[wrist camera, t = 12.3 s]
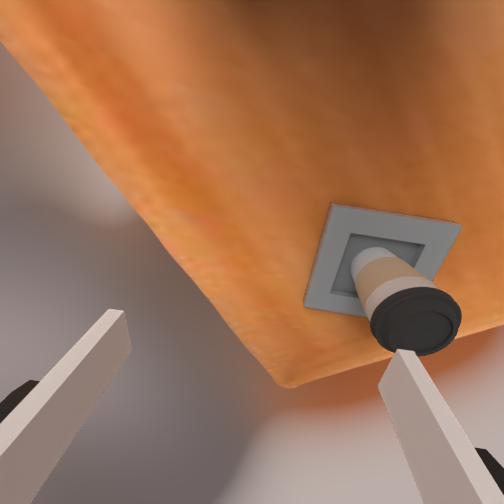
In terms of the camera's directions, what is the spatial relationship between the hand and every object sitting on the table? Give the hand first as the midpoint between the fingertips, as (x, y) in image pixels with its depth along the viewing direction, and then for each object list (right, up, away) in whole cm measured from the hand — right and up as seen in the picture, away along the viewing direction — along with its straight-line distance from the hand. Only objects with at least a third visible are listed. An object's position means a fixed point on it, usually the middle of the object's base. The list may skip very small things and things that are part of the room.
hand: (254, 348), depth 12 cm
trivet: (+19, +3, +27) cm, 33 cm away
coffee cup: (+19, +3, +27) cm, 33 cm away
